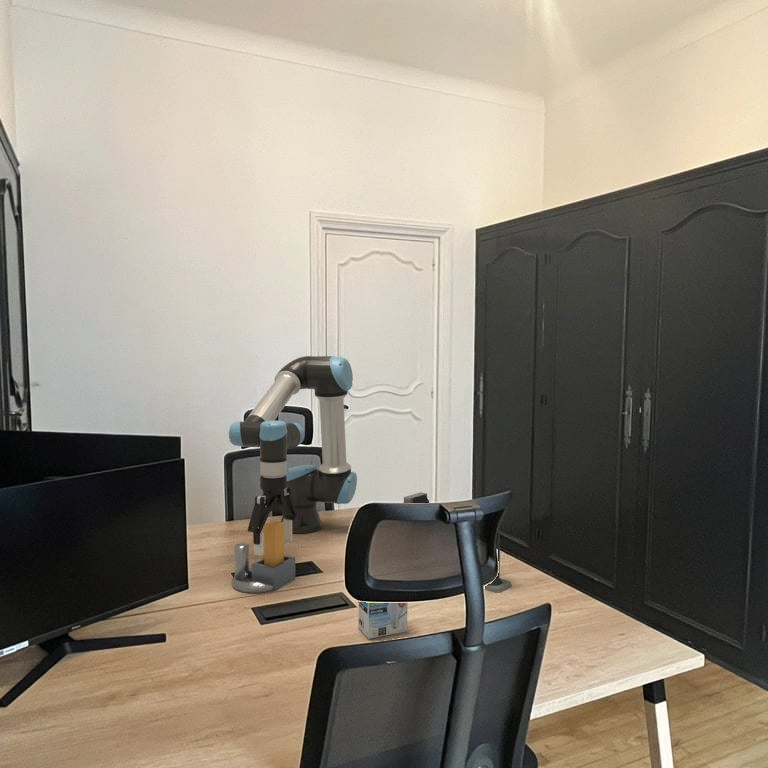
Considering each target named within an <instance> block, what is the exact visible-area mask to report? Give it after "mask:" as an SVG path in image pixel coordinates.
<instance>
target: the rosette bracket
mask: <svg viewBox="0 0 768 768" xmlns="http://www.w3.org/2000/svg"><path fill="white" fill-rule="evenodd" d="M295 580H296V557H294V556H290V555H285V554H284V562H282V563H280V564H278V565H276V566H274V567H273V566H268V565H264V557H262V558H260V559H258V560H256V561H254V562H252V563H251V567H250V545H249V544H248V543H246V542H240V543H236V544H235V545H234V576H233V577H232V579H231V584H232V585H231V587H232V589H233V590H235V591H236V592H239V593H243V594H252V595H253V594H265V593H270V592H275V591H277V590H279V589H281V588H283V587H284V586H286V585H288V584H290V583H291V582H294V581H295Z"/></svg>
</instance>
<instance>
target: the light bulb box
mask: <svg viewBox="0 0 768 768" xmlns="http://www.w3.org/2000/svg"><path fill="white" fill-rule="evenodd" d="M408 604H409V603H366V602H359V601H358V622H357V623H358V626H357V627H358V629H359V630H360V631H361V633H363V635H364V636H365V637H366V638H367V639H368V640H370V639H371V640H372V639H375V638H376V639H377V638H380V637H381V638H382V637H386V636H390V635H396V634H401V633H402V634H403V633H407V632H408Z"/></svg>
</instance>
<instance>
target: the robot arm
mask: <svg viewBox="0 0 768 768" xmlns="http://www.w3.org/2000/svg"><path fill="white" fill-rule="evenodd" d="M353 375H354V374H353V369H352V366H351V363H350V362H349V360H348V359H347V358H346V357H344V356H335V355H329V356H328V355H327V356H325V355H323V356H322V355H318V356H316V355H314V356H312V355H305V356H300V357H297V358H296V359H293V360H292V361H290V362H288V363H287V364H285V365H284V366H282V368H281V369H280V370H279V371H278V372H277V374H275V376H274V381H273V383H272V384H271V386H270V387H269V388H268V390H267V391H266V393H265V394H264V395H263V397H262V398H261V399H260V400H259V402H257V404H256V406H254V408H253V410H252V411H251V412H250V413H249V415H248V416H247V417H246V418H245V420H244V421H240V420H239V421H235V422H233V423H232V424H230V427H229V431H228V439H229V442H230V443H231V445H233V446H235V447H236V446H237V447H243V448H259V457H260V462H259V464H260V466H259V469H260V470H259V471H260V472H259V475H261V476H260V477H259V485H260V486H259V488H260V490H261V491H262V496H261V495H256V496H255V497H254V506H253V508H252V513H251V516H250V519H249V523H248V527H247V532H249V533H252V534H253V535H252V537H253V539H252V542H253V549H254V550H253V555H255V556H259V557H262V556H263V557H264V531H263V530H264V524H265V523H267V522H266V521H267V520H268V518H269V515H270V513H272V511H273V510H274V509H276V508H278V509H279V511H280V512H281V514H282V516H281V520H280V522H284V542H288V543H292V542H293V534H310V533H315V532H317V531H319V530H321V529H322V520H321V517H320V513H319V510H318V507H317V503H328V504H335V505H339V504H342V505H347V504H349V503H351V501H352V500H353V498H354V496H355V492H356V489H357V486H358V485H357V483H358V476H357V473H356V472H355V471H352V465H351V464H349V462H347V448H346V447H347V445H346V443H347V442H346V423H345V403H344V402H345V401H344V399H345V398H346V397H347V395H348V394H349V393H348V391H350V390H351V389H352V387H353V381H354V377H353ZM305 389H306V390H314V397H316V398H317V399H318V401H319V402H318V403H319V417H320V435H321V437H320V438H321V456H322V458H321V459H322V464H320V466H319V467H317V465H316V464H302V465H297V466H292V467H289V468H288V466H287V465H288V462H287V451H288V450H291V449H294V448H297V447H299V445H301V444H302V443H303V441H304V440H305V435H306V434H305V430H304V428H303V426H301V424H299V423H298V422H287V423H286V422H285V421H283V420H277V418H278V416H279V414H280V413H281V412H282V411H283V409H284V408H285V406H286V405H287V404H288V402H289V401H290V399H291V398H292V396H293V395H294V396H295V395H296V394H298V393H299V392H300V390H305ZM262 531H263V532H262Z"/></svg>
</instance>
